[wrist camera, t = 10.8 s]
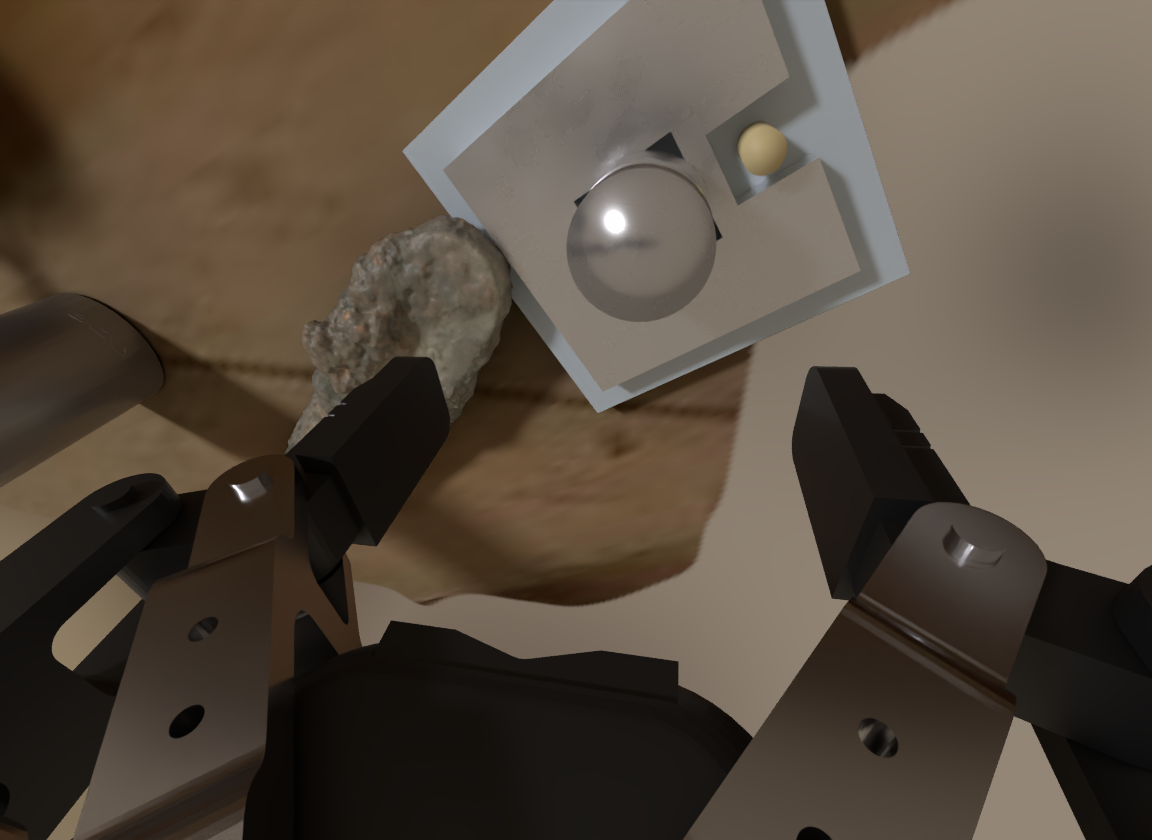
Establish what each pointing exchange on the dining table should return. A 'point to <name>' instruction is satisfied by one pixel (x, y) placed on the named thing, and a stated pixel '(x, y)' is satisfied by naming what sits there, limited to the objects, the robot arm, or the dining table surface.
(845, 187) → the base plate
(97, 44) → the dining table surface
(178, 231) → the dining table surface
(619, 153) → the flange plate
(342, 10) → the dining table surface
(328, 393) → the long grey stone
